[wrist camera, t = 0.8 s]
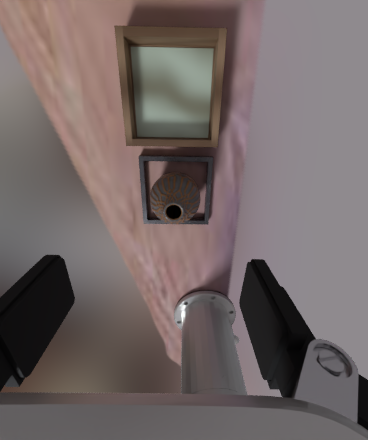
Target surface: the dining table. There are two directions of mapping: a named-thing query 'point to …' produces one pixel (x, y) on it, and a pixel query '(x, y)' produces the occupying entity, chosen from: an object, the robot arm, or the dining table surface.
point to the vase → (175, 198)
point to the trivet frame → (174, 158)
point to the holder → (171, 84)
